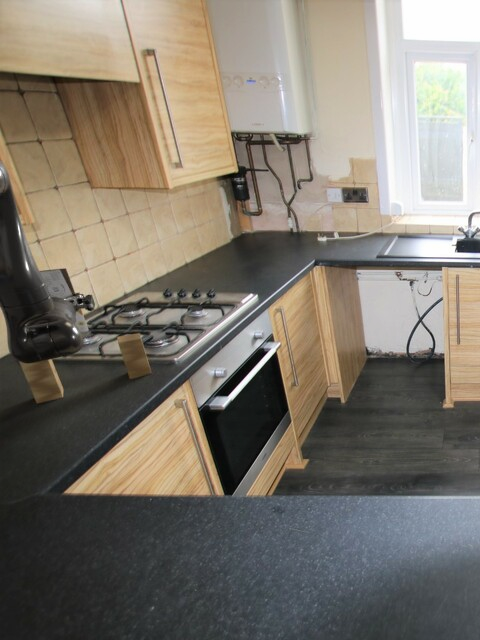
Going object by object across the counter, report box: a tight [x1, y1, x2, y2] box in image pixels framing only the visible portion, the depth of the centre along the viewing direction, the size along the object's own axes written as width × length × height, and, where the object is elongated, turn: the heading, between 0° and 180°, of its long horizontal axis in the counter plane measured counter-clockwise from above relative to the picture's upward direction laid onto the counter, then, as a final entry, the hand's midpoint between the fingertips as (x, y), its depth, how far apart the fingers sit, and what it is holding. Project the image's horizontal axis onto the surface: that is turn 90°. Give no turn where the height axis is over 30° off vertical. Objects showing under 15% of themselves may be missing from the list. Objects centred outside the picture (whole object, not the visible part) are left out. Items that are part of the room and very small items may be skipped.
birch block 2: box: [116, 332, 152, 380], centre depth 131 cm, size 5×5×12 cm
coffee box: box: [39, 267, 90, 334], centre depth 116 cm, size 9×6×16 cm
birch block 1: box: [18, 359, 65, 404], centre depth 120 cm, size 5×5×12 cm
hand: (56, 299), depth 115 cm, fingers closed on coffee box, 8 cm apart
